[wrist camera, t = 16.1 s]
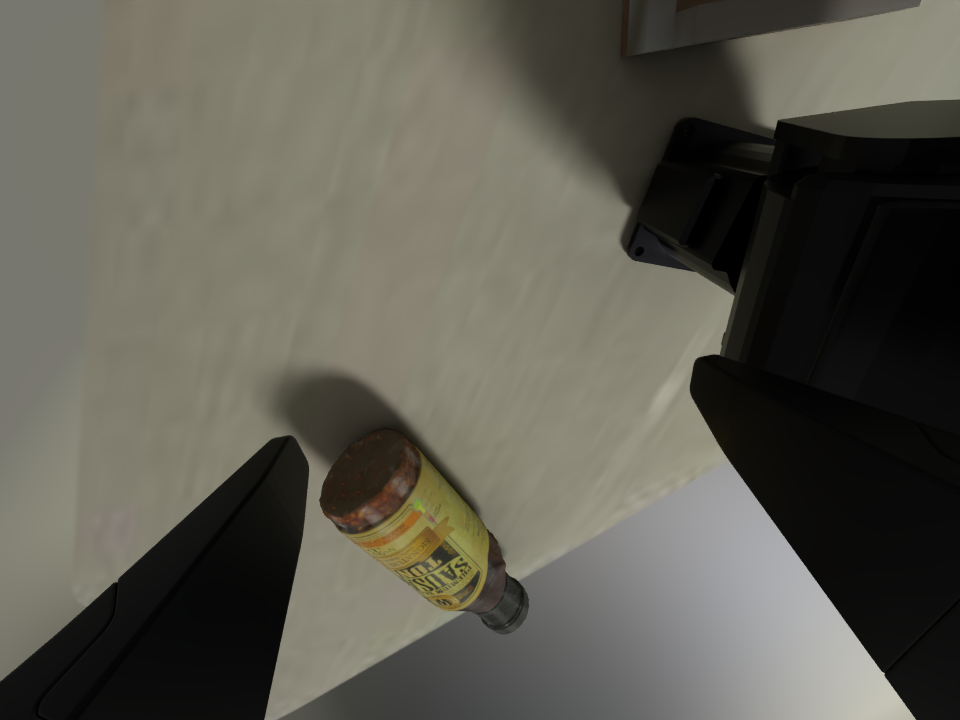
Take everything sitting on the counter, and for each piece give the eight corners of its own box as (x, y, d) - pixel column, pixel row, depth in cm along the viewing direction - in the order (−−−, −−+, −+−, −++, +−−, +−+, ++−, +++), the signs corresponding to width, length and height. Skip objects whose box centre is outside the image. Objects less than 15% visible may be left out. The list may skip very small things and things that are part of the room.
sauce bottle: (383, 503, 20) (552, 649, 29) (412, 410, 24) (548, 562, 34) (289, 529, 22) (474, 656, 32) (333, 440, 27) (481, 574, 37)
